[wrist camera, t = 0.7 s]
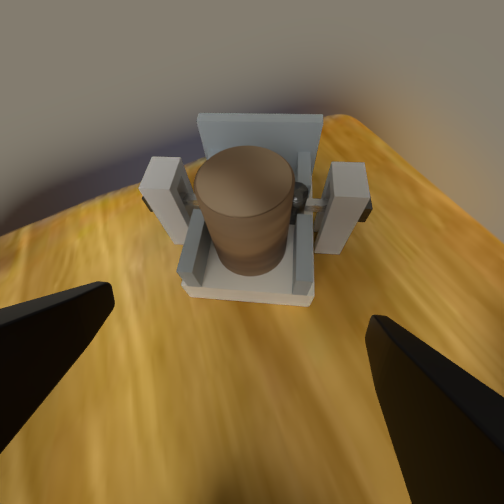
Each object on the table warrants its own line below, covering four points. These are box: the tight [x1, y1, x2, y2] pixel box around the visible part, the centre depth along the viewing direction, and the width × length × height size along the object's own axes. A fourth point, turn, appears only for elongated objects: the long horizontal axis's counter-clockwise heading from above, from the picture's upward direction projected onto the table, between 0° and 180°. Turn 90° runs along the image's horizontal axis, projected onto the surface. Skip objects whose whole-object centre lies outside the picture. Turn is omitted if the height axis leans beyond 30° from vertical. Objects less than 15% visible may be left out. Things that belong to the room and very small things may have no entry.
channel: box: [139, 113, 370, 307], centre depth 22 cm, size 15×17×9 cm
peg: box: [194, 146, 295, 276], centre depth 19 cm, size 6×6×8 cm
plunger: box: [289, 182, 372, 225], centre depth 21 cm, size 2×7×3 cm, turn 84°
